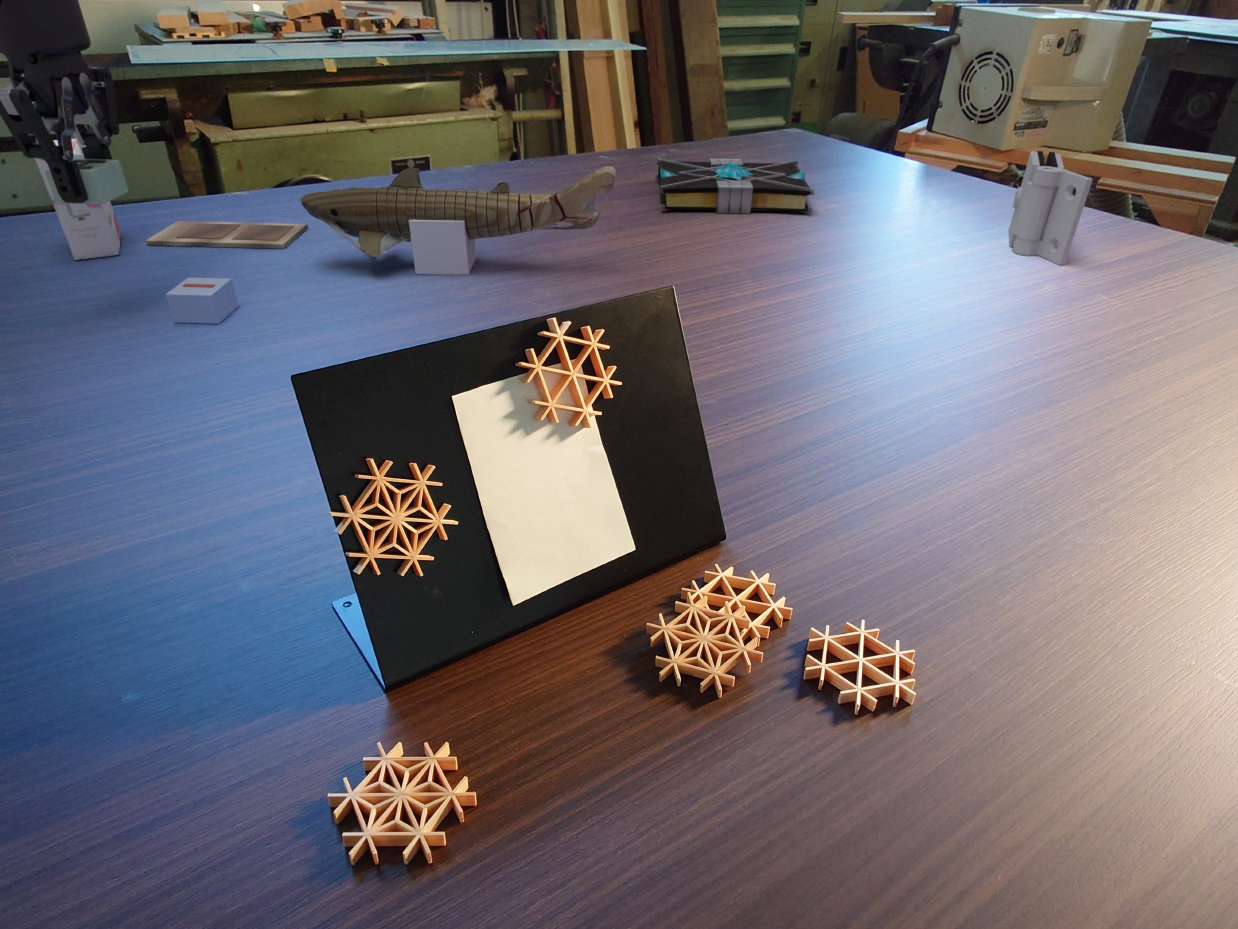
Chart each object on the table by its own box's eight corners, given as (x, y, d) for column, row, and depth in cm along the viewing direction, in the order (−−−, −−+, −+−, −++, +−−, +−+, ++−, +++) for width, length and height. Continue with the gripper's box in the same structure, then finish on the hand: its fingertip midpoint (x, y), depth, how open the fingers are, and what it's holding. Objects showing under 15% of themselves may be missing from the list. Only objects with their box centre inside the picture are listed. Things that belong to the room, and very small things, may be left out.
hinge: (1066, 266, 96) (1094, 179, 91) (1018, 263, 97) (1043, 177, 91) (1034, 229, 108) (1057, 150, 102) (992, 227, 108) (1013, 149, 103)
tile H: (55, 202, 76) (43, 168, 74) (84, 189, 79) (72, 156, 78) (102, 204, 76) (91, 170, 74) (129, 191, 79) (119, 158, 78)
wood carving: (615, 280, 91) (616, 178, 84) (302, 277, 90) (280, 174, 84) (615, 253, 98) (616, 157, 92) (325, 250, 98) (307, 154, 91)
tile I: (174, 322, 80) (164, 292, 78) (196, 305, 83) (187, 276, 82) (219, 324, 80) (210, 294, 78) (239, 306, 83) (231, 277, 82)
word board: (146, 245, 99) (144, 239, 98) (179, 225, 105) (177, 219, 105) (284, 248, 98) (282, 243, 98) (307, 228, 105) (306, 223, 104)
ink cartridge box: (77, 239, 100) (30, 112, 92) (122, 234, 102) (80, 109, 94) (72, 261, 94) (21, 126, 85) (120, 255, 95) (75, 123, 87)
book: (794, 183, 126) (798, 150, 123) (813, 215, 112) (818, 178, 109) (655, 181, 126) (656, 147, 123) (656, 213, 112) (658, 176, 109)
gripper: (33, -19, 74) (97, 173, 83) (-87, -8, 62) (3, 215, 71) (114, -17, 74) (168, 176, 83) (9, -6, 62) (86, 218, 71)
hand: (91, 193), depth 77 cm, fingers closed on tile H, 4 cm apart
